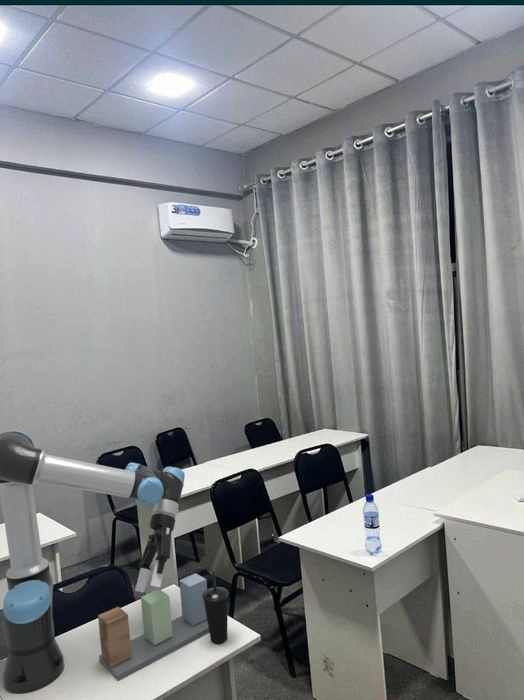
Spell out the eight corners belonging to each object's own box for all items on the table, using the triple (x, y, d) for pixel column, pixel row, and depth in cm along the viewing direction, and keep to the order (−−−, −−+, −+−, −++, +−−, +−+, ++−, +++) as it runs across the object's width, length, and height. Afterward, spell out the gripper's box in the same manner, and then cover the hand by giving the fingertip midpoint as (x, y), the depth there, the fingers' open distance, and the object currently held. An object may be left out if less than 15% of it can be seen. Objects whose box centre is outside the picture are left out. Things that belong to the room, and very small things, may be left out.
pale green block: (144, 636, 151) (140, 596, 151) (162, 628, 155) (159, 589, 155) (154, 645, 147) (150, 604, 146) (172, 636, 151) (169, 595, 150)
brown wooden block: (101, 657, 143) (97, 615, 143) (122, 647, 147) (118, 606, 146) (111, 667, 138) (107, 623, 138) (131, 656, 142) (127, 614, 142)
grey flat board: (99, 660, 145) (99, 655, 145) (195, 613, 165) (195, 609, 165) (118, 680, 135) (117, 675, 135) (217, 628, 156) (217, 623, 156)
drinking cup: (220, 650, 145) (214, 580, 144) (200, 642, 150) (194, 574, 149) (237, 636, 151) (232, 569, 150) (218, 628, 156) (212, 563, 155)
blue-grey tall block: (182, 618, 160) (179, 580, 159) (198, 610, 164) (195, 573, 163) (193, 625, 155) (189, 586, 155) (209, 617, 159) (206, 579, 159)
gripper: (190, 510, 154) (175, 586, 142) (161, 527, 173) (145, 596, 161) (167, 503, 152) (149, 580, 140) (140, 521, 170) (122, 591, 158)
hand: (147, 589), depth 150 cm, fingers open, 13 cm apart
